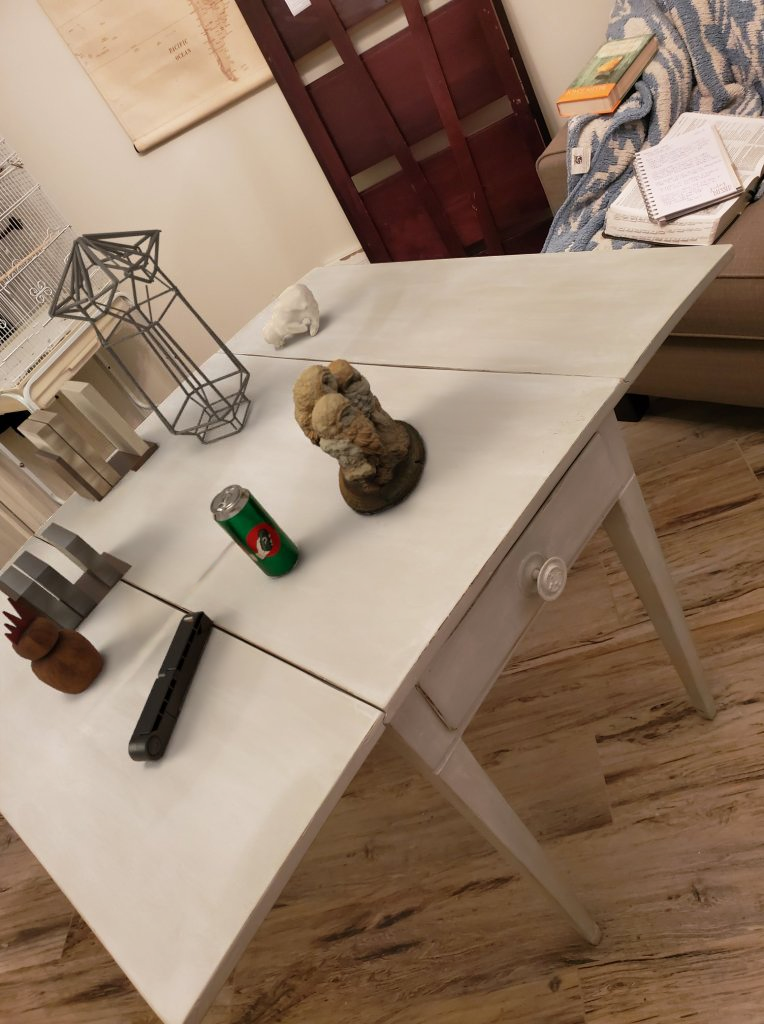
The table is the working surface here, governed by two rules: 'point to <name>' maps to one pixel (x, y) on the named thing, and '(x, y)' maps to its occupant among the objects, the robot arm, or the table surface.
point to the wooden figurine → (54, 651)
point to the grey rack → (63, 580)
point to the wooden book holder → (78, 456)
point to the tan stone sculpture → (358, 436)
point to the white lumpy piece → (292, 314)
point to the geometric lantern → (80, 274)
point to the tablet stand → (170, 688)
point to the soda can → (254, 530)
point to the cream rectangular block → (104, 417)
